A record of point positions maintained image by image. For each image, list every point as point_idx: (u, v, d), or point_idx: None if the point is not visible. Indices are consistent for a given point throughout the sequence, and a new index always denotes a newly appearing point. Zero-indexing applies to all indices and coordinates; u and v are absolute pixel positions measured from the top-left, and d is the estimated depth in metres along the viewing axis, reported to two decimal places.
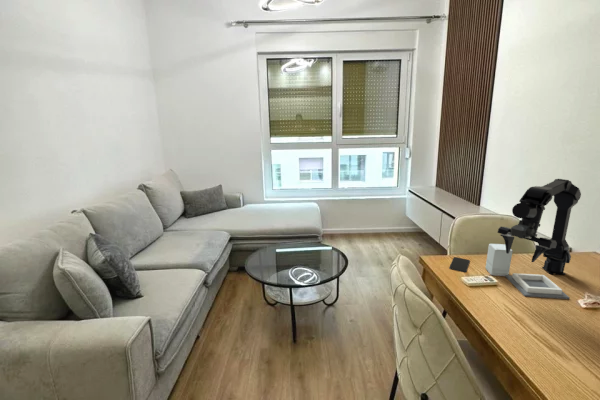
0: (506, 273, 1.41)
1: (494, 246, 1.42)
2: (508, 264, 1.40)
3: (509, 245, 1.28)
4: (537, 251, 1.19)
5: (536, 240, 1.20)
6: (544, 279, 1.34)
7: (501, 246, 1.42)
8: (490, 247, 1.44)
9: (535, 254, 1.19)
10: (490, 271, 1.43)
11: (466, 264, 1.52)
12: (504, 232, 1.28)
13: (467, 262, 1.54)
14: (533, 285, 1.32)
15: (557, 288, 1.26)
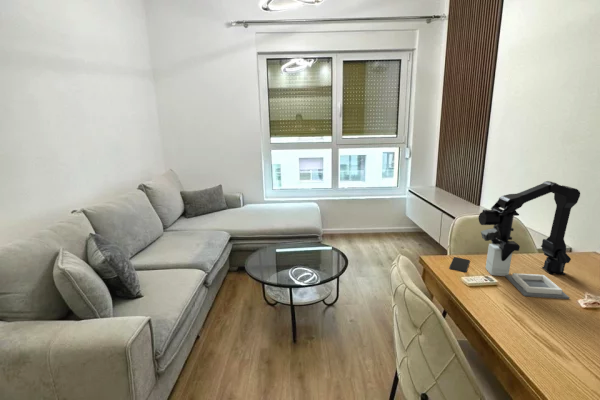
0: (506, 273, 1.41)
1: (494, 246, 1.42)
2: (508, 264, 1.40)
3: None
4: (502, 251, 1.37)
5: None
6: (544, 279, 1.34)
7: None
8: (490, 247, 1.44)
9: (502, 254, 1.38)
10: (490, 271, 1.43)
11: (466, 264, 1.52)
12: None
13: (467, 262, 1.54)
14: (533, 285, 1.32)
15: (557, 288, 1.26)
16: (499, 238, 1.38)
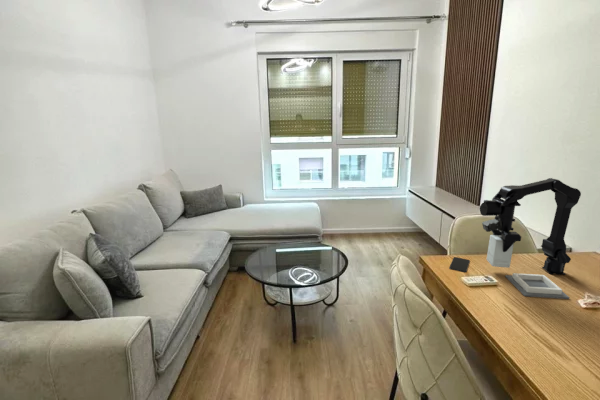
0: (507, 264, 1.40)
1: (495, 237, 1.41)
2: (509, 255, 1.38)
3: None
4: (503, 242, 1.36)
5: None
6: (544, 279, 1.34)
7: None
8: (491, 238, 1.43)
9: (503, 245, 1.37)
10: (491, 262, 1.42)
11: (466, 264, 1.52)
12: None
13: (467, 262, 1.54)
14: (533, 285, 1.32)
15: (557, 288, 1.26)
16: (500, 229, 1.37)
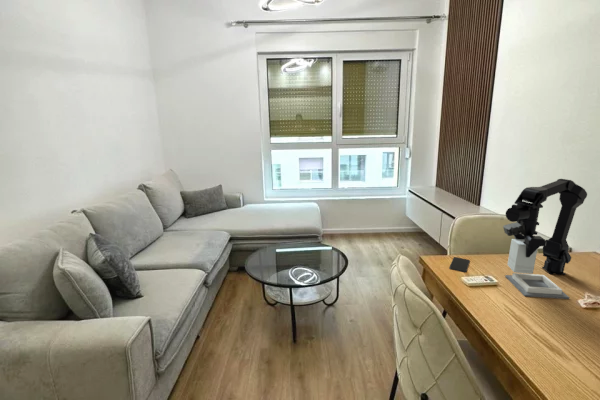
0: (530, 270, 1.32)
1: (517, 241, 1.34)
2: (533, 261, 1.31)
3: None
4: (526, 247, 1.29)
5: None
6: (544, 279, 1.34)
7: None
8: (513, 243, 1.35)
9: (526, 250, 1.29)
10: (513, 268, 1.34)
11: (466, 264, 1.52)
12: None
13: (467, 262, 1.54)
14: (533, 285, 1.32)
15: (557, 288, 1.26)
16: (523, 233, 1.29)
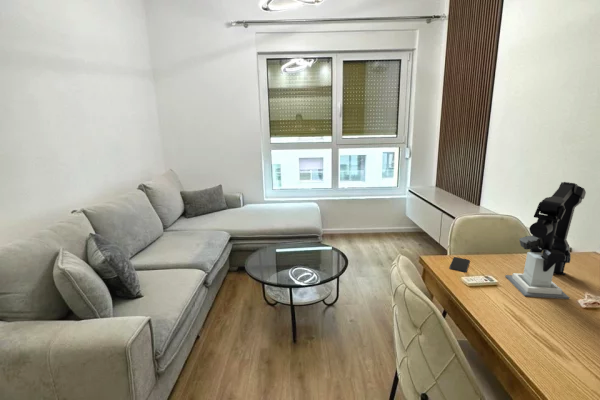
0: (548, 285, 1.27)
1: (534, 255, 1.29)
2: (550, 275, 1.26)
3: None
4: (544, 261, 1.24)
5: None
6: None
7: (542, 255, 1.29)
8: (529, 256, 1.31)
9: (544, 264, 1.25)
10: (529, 282, 1.30)
11: (466, 264, 1.52)
12: None
13: (467, 262, 1.54)
14: None
15: (557, 288, 1.26)
16: (541, 246, 1.25)
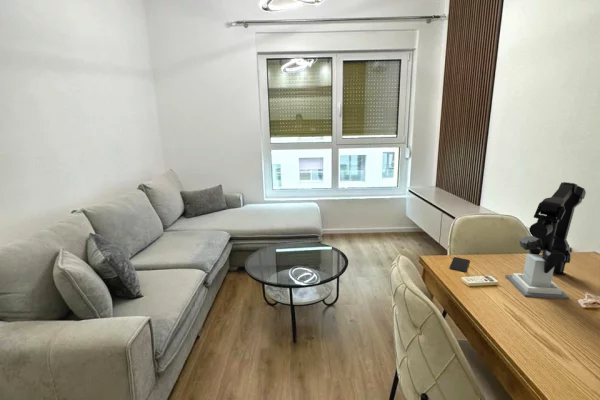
0: (547, 287, 1.28)
1: (533, 257, 1.29)
2: (550, 277, 1.27)
3: None
4: (545, 263, 1.23)
5: None
6: None
7: None
8: (528, 258, 1.31)
9: (545, 265, 1.24)
10: (529, 284, 1.30)
11: (466, 264, 1.52)
12: None
13: (467, 262, 1.54)
14: None
15: (557, 288, 1.26)
16: (541, 247, 1.25)
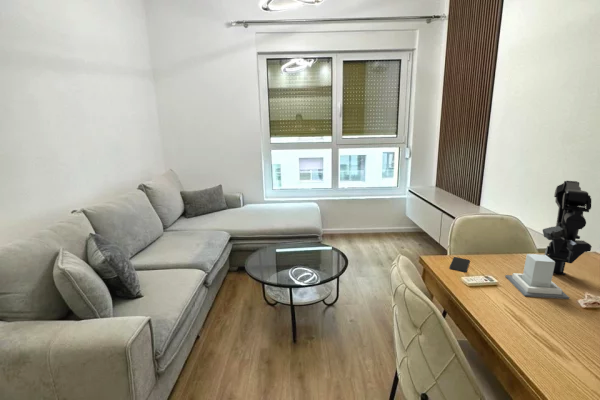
0: (547, 287, 1.28)
1: (533, 257, 1.29)
2: (550, 277, 1.27)
3: (557, 245, 1.33)
4: (570, 253, 1.23)
5: None
6: None
7: (542, 257, 1.29)
8: (528, 258, 1.31)
9: (569, 256, 1.24)
10: (529, 284, 1.30)
11: (466, 264, 1.52)
12: None
13: (467, 262, 1.54)
14: None
15: (557, 288, 1.26)
16: (565, 237, 1.24)
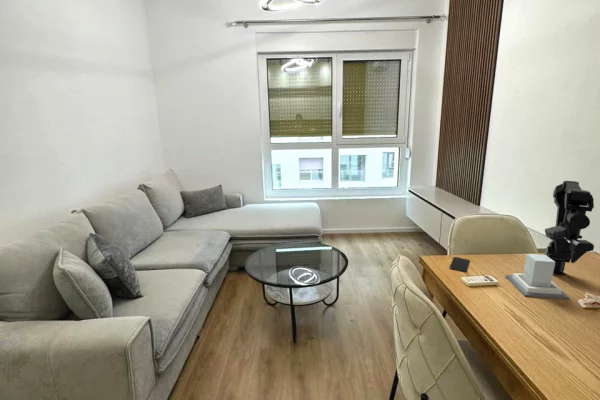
0: (547, 287, 1.28)
1: (533, 257, 1.29)
2: (550, 277, 1.27)
3: (558, 245, 1.33)
4: (572, 252, 1.23)
5: None
6: None
7: (542, 257, 1.29)
8: (528, 258, 1.31)
9: (572, 255, 1.23)
10: (529, 284, 1.30)
11: (466, 264, 1.52)
12: None
13: (467, 262, 1.54)
14: None
15: (557, 288, 1.26)
16: (568, 237, 1.24)
